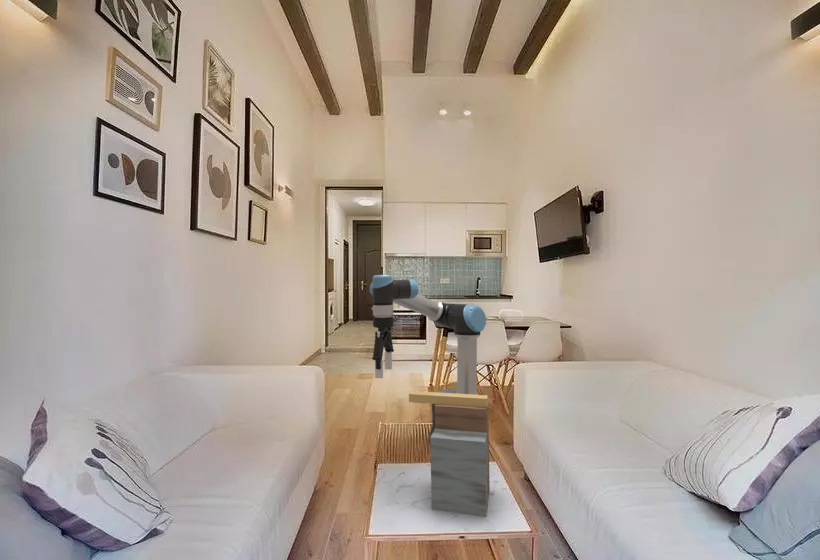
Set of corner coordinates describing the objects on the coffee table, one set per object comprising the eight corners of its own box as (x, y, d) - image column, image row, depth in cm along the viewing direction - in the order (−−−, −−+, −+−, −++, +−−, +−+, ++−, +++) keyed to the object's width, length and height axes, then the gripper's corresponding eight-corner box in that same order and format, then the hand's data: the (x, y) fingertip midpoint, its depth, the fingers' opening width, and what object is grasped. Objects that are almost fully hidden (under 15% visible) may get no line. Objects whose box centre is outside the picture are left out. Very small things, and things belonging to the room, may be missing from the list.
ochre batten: (411, 398, 150) (411, 390, 150) (488, 403, 142) (487, 395, 142) (408, 402, 146) (408, 393, 146) (487, 407, 139) (486, 398, 138)
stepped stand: (440, 484, 149) (438, 399, 149) (489, 490, 145) (488, 402, 144) (431, 509, 134) (429, 413, 134) (486, 516, 129) (484, 417, 129)
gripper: (381, 313, 162) (382, 365, 162) (363, 319, 137) (364, 381, 138) (400, 313, 161) (400, 366, 161) (384, 320, 136) (385, 382, 136)
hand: (384, 373), depth 149 cm, fingers open, 13 cm apart
